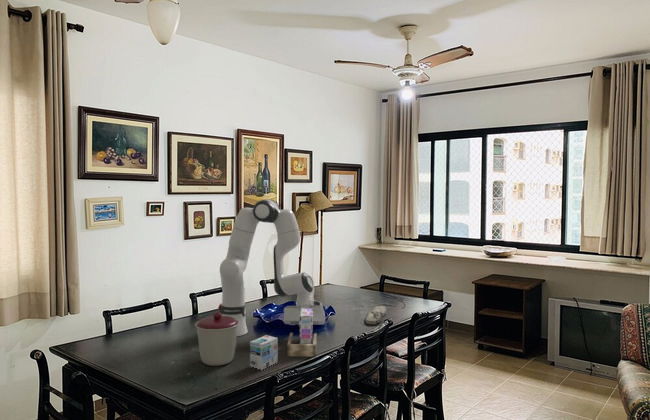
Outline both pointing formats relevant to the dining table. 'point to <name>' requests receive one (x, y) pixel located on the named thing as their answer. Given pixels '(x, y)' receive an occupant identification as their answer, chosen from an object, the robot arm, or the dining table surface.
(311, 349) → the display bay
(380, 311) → the elongated rock
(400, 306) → the dining table surface
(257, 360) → the light bulb box
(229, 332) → the canister
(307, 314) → the candy box
